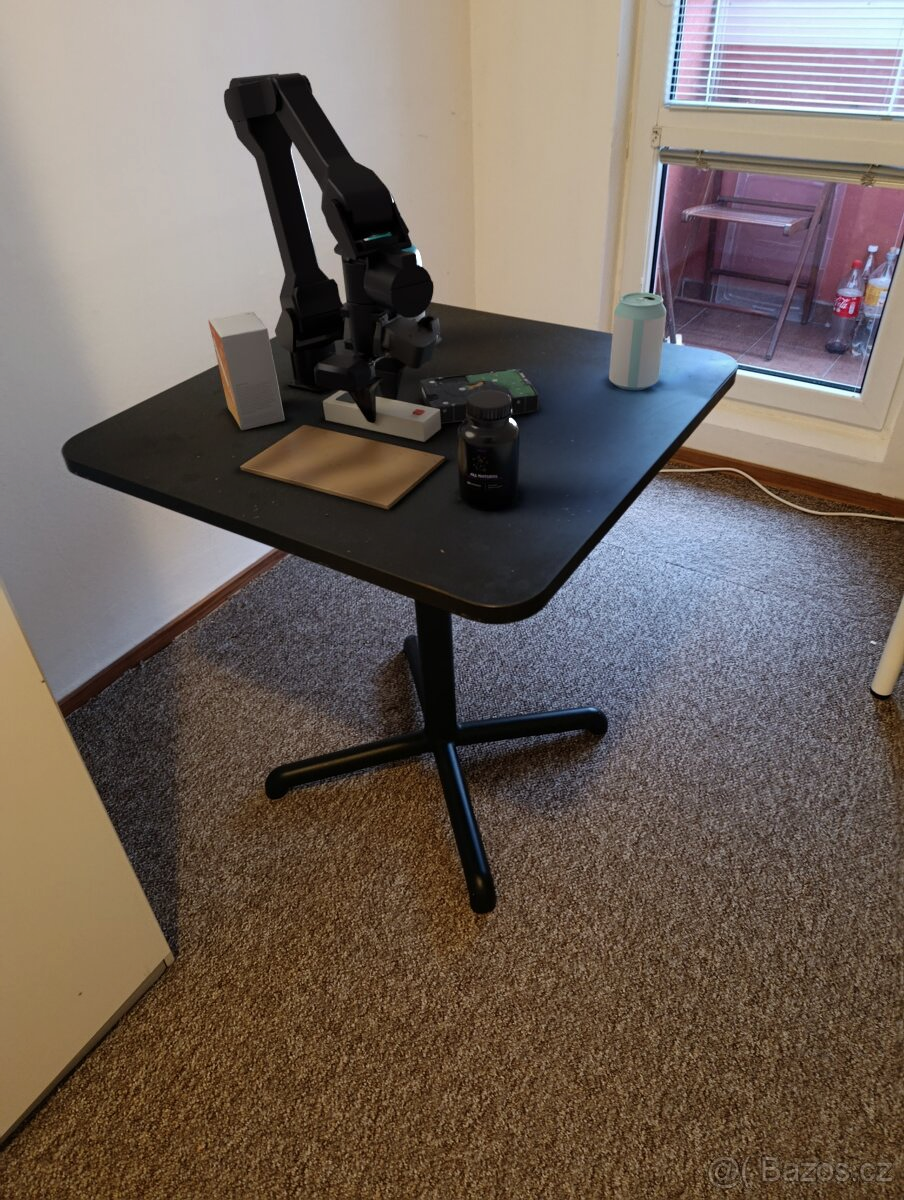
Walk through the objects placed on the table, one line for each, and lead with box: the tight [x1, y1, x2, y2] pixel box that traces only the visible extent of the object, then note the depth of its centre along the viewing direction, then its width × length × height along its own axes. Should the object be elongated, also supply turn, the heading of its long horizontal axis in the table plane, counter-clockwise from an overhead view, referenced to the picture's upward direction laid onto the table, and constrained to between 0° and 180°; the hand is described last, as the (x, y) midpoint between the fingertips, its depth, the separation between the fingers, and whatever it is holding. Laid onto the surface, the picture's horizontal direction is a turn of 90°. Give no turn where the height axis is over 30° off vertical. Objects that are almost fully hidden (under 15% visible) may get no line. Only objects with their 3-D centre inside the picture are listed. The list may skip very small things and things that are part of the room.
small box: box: [207, 311, 286, 431], centre depth 109 cm, size 8×6×13 cm
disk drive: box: [420, 368, 540, 425], centre depth 112 cm, size 10×3×15 cm
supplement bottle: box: [457, 391, 521, 511], centre depth 89 cm, size 7×7×12 cm
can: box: [608, 291, 667, 391], centre depth 113 cm, size 7×7×12 cm
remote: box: [322, 390, 442, 443], centre depth 109 cm, size 16×4×3 cm, turn 61°
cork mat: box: [239, 424, 446, 510], centre depth 100 cm, size 22×13×1 cm, turn 61°
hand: (381, 415), depth 109 cm, fingers closed on remote, 4 cm apart
